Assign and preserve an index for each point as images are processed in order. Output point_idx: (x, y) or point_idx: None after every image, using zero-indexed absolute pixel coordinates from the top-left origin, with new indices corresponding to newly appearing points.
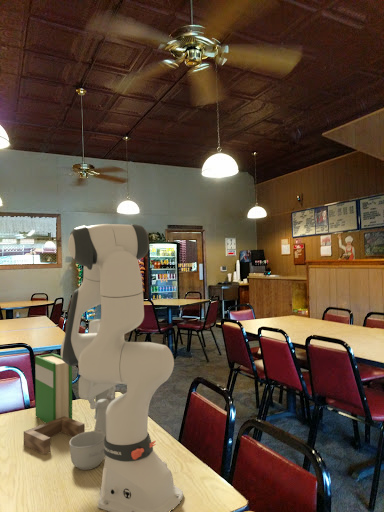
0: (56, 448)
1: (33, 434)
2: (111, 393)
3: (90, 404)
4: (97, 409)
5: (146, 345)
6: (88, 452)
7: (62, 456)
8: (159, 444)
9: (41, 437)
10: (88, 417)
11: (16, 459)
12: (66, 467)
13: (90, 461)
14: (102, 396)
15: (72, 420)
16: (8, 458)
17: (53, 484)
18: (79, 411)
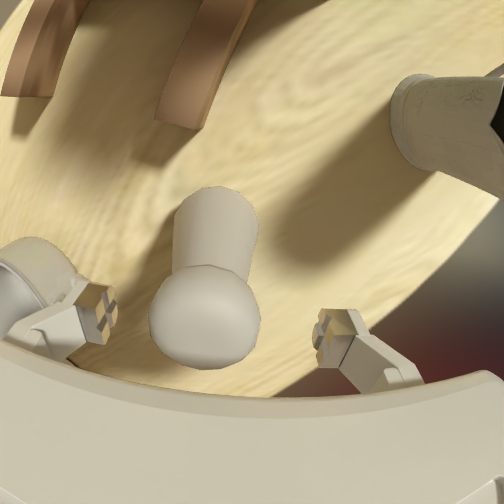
0: (77, 92)
1: (35, 7)
2: (343, 364)
3: (66, 300)
4: (426, 96)
5: None
6: (6, 328)
7: (44, 163)
8: (230, 387)
9: (16, 60)
10: (405, 49)
11: (7, 47)
12: (17, 224)
13: (22, 315)
14: (476, 139)
15: (220, 30)
16: (11, 23)
17: None
18: (438, 3)
